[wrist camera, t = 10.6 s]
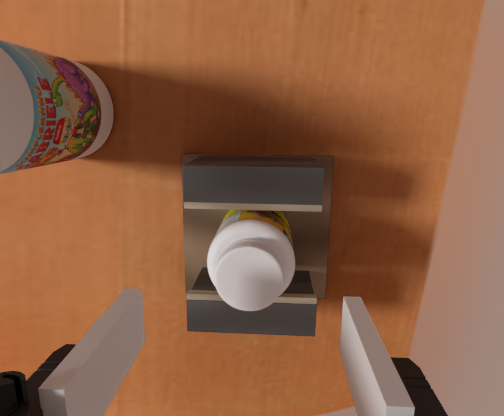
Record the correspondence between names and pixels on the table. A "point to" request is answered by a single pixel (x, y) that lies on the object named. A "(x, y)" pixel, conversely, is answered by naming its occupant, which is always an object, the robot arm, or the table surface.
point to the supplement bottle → (251, 258)
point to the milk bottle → (49, 109)
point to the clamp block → (257, 198)
